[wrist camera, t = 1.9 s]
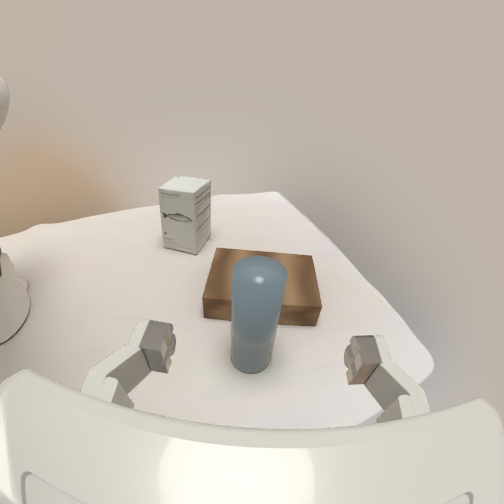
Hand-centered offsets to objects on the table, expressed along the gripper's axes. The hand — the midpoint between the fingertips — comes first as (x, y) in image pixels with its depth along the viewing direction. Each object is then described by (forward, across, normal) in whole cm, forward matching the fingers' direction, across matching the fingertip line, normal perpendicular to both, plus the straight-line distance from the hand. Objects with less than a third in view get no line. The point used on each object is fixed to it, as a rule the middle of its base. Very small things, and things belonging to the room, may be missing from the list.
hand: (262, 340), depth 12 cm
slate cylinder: (+12, 0, +20) cm, 23 cm away
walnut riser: (+24, -1, +20) cm, 31 cm away
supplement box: (+37, +14, +20) cm, 44 cm away
